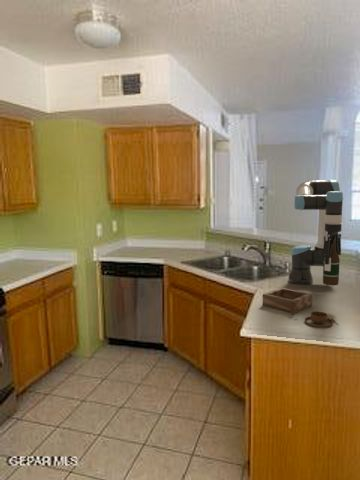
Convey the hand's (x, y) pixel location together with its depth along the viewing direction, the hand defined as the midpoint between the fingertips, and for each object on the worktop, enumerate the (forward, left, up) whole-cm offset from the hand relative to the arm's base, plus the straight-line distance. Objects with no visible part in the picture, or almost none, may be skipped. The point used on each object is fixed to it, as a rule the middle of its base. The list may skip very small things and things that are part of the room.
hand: (331, 269), depth 187 cm
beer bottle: (0, 0, -8) cm, 8 cm away
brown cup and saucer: (+21, +3, -21) cm, 30 cm away
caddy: (+10, -18, -20) cm, 29 cm away
